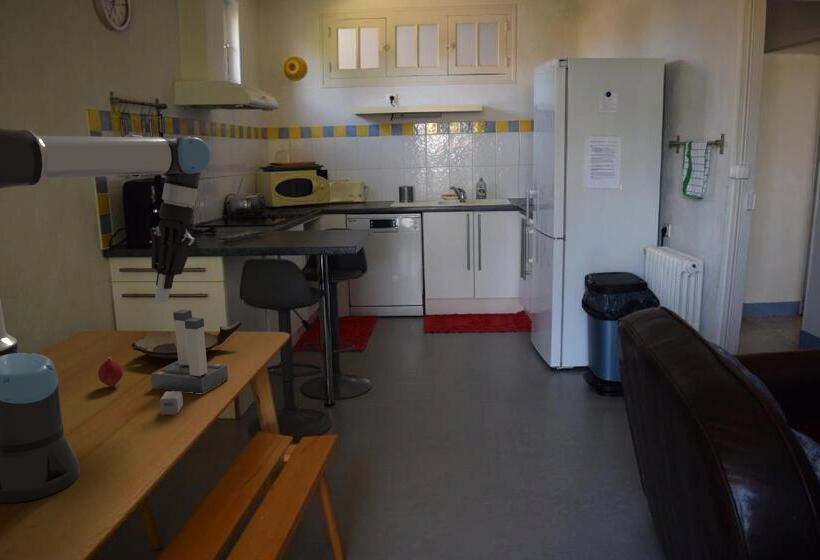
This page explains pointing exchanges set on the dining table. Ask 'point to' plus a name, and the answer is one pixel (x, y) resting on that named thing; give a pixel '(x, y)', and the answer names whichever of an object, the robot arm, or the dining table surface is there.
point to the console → (188, 378)
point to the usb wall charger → (171, 402)
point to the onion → (110, 372)
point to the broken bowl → (166, 347)
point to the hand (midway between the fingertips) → (161, 300)
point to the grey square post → (196, 346)
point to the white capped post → (182, 335)
